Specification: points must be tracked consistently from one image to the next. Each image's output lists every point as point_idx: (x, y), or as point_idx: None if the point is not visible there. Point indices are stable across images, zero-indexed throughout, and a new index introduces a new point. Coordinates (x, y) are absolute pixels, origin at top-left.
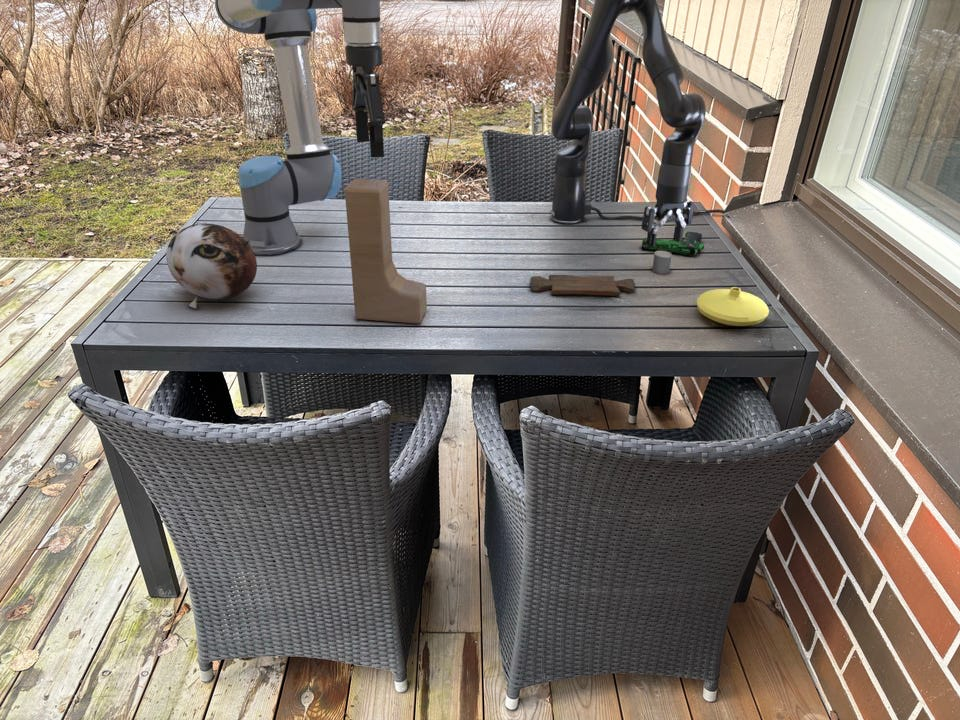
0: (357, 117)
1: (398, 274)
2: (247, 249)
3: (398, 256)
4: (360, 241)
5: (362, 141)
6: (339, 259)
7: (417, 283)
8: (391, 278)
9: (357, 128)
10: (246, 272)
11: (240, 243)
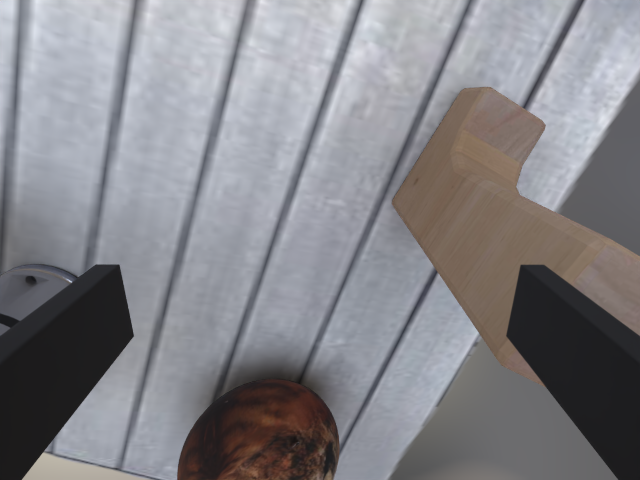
0: (10, 475)
1: (463, 151)
2: (295, 434)
3: (153, 64)
4: None
5: (128, 310)
6: (148, 202)
7: (490, 109)
8: (503, 180)
9: (79, 397)
10: (326, 414)
11: (293, 455)
